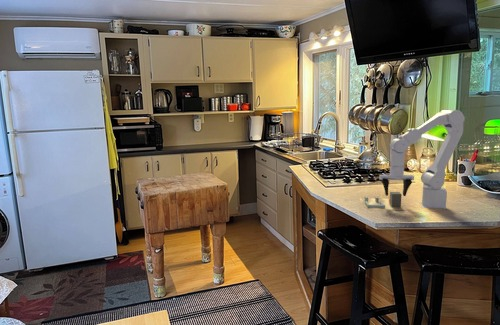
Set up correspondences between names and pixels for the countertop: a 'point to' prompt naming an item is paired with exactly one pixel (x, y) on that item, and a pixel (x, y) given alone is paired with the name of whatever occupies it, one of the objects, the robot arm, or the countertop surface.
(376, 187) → the countertop surface
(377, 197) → the clip
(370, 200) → the board
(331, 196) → the countertop surface
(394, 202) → the plug
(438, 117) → the robot arm
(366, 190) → the countertop surface
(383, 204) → the holder
